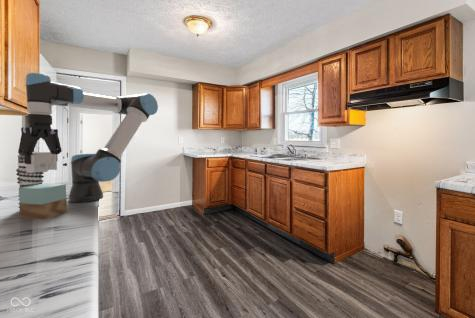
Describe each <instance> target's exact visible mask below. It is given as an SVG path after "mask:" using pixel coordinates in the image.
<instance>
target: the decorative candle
mask: <svg viewBox="0 0 475 318" xmlns="http://www.w3.org/2000/svg"><path fill="white" fill-rule="evenodd" d="M37 152H38V151H33V153H32V155H34V154H35V153H37ZM17 161H18V162H17V167H18V168H16V170H15V171H16V172H17V173H16V176H18V177H17V178H16V180H17V182H16V183H17V185H19V188H21V187H27V186H32V185H38V184H43V183H44V179H43V178H44V173H45V172H35V173H27V171H26V164H25V159H24V155H21V154H19V153H18V155H17ZM18 197H19V194H18ZM18 201H19V198H18ZM18 209H19V212H20V204H19V203H18Z"/></svg>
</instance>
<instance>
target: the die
mask: <svg viewBox="0 0 475 318" xmlns="http://www.w3.org/2000/svg"><path fill="white" fill-rule="evenodd" d="M36 152H37V153H35V154H34V166H35V172H44V173H47V172H49V171H51V170H50V169H51V168H52V167H53V166H55V165H56V164H57V165H58V162H57V163H56V161H55V159H54V157H53V156H52V154H51V152H50V151H49V152H48V151H46V152H45V151H40V152H39V151H36Z"/></svg>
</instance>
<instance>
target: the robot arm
mask: <svg viewBox="0 0 475 318" xmlns="http://www.w3.org/2000/svg"><path fill="white" fill-rule="evenodd" d="M25 87H26V88H25V89H26V106H27V109H26V110H27V113H28V114H27V123H28V124H29V127H21V128H20V130H21V137H20V141H19V146H18V152H17V153H18V155H19V154H21V155H24V159H25V164H26V171H27V173H35V166H34V155H32V153H33V152H34V151H35V148H36V146H37V144H38V141H39V140H41V139H42V140H43V141H44V143H45V145H46V146H47V148H48V150H49V152H51V154H52V156H53V157H54V159H55V161H56V163H57V164H56V165H55V166H53V167H52V168H51V169H50V170H49V171H57V170H58V155H60V154H61V153H62V151H63V149H62V147H61V142H60V138H59V130H58V129H56V128H55V129H54V128H52V126H51V125H53V116H52V115H53V111H52V110H53V108H52V107H53V106H58V107H69V108H81V109H89V110H99V111H107V112H108V111H109V112H112V113H114V114H119V115H125V116H124V118H123V120H121V122H120V124H119V125H118V126H117V128H116V129H115V130H114V133H113V134H112V135H111V136H110V138H109V140H108V141H107V143H106V144H105V146H104V147H103V148H99V149H98V150H97V151H96V152H95V153H79V154H74V155H72V156H71V158H70V160H71V161H70V166H71V183H72V184H71V188H70V191H69V195H68V202H70V203H86V202H87V203H88V202H89V203H90V202H94V201H98V200H101V199H103V198H104V192H103V191H102V187H101V185H100V183H101V182H103V183H104V182H110V181H113V180H115V179H116V178H117V177H118V175H119V174H120V171H121V164H122V163H121V162H122V159H121V156H122V155H123V153H124V152H125V150H126V148H127V147H128V146H129V144H130V142H131V141H132V139H133V137H134V136H135V134H136V133H137V131H138V130H139V129H140V126H141V124H142V123H145V122H147V121H148V119H149V117H150V116H153V115H155V114H157V113H158V108H159V105H158V101H157V99H156V97H155V96H154V95H152V94H150V93H140V94H132V95H126V96H118V95H114V96H113V97H112V96H106V95H100V94H95V93H94V94H93V93H86V92H84V90H83V89H82V88H81V87H79V86H75V85H71V84H65V83H58V82H54V81H52V79H51V77H50V75H49V74H45V73H41V72H29V73H27V74H26V76H25Z"/></svg>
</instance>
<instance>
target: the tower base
mask: <svg viewBox="0 0 475 318" xmlns="http://www.w3.org/2000/svg"><path fill="white" fill-rule="evenodd" d="M19 204H20V205H19ZM18 205H19V206H20V208H19V210H20V211H19V216H20V217H19V218H20V219H30V220H47V219H50V218H53V217H56V216H59V215H61V214H64V213H67V212H68V207H67V205H68V203H67V198H66V199H62V200H58V201H54V202H51V203H47V204H43V205H40V204H23V203H19V202H18Z"/></svg>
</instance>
